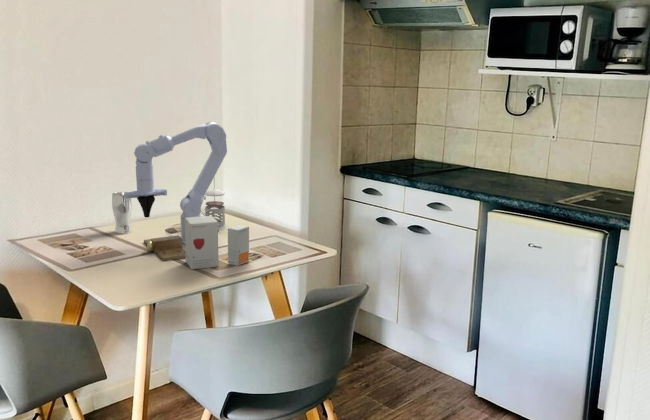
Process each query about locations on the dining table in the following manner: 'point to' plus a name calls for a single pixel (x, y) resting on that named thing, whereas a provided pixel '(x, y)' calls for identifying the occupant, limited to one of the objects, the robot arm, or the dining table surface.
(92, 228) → the dining table surface
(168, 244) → the hinge
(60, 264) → the dining table surface
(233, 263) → the skincare box
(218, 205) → the french press
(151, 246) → the pin
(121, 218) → the beer glass
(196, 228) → the supplement box
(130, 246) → the dining table surface
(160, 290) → the dining table surface
